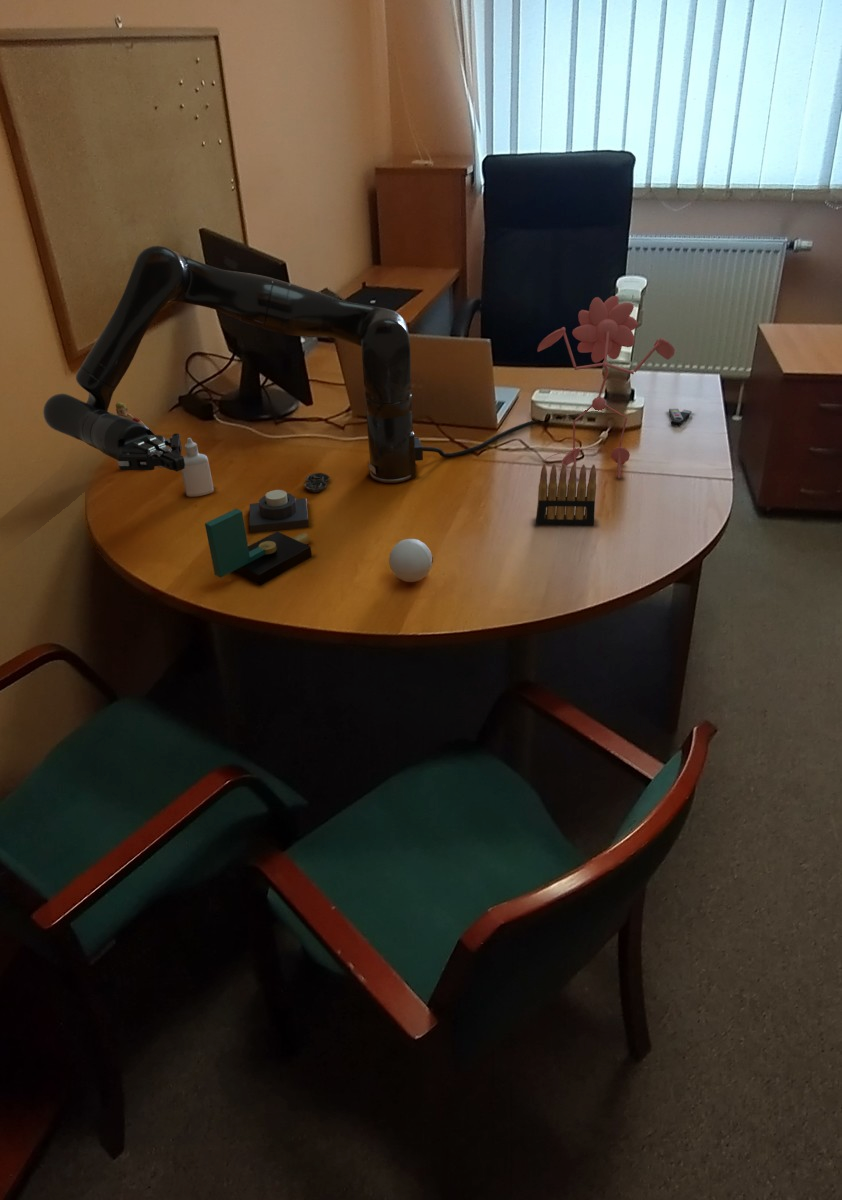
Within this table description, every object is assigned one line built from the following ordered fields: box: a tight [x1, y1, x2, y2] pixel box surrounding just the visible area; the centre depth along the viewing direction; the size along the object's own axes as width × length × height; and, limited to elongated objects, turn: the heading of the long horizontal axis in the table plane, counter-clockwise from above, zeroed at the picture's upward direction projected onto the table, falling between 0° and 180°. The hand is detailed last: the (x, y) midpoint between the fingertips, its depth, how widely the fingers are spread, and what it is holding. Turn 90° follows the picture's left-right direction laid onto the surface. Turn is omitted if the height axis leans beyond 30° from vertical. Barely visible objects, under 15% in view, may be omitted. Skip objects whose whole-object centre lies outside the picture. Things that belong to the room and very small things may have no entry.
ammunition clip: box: [535, 463, 597, 527], centre depth 155 cm, size 11×2×12 cm, turn 86°
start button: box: [265, 489, 288, 507], centre depth 160 cm, size 4×4×2 cm
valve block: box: [232, 530, 313, 586], centre depth 150 cm, size 15×9×2 cm, turn 139°
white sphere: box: [388, 538, 434, 583], centre depth 143 cm, size 10×7×7 cm
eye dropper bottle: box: [180, 437, 215, 498], centre depth 170 cm, size 4×6×12 cm
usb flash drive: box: [668, 408, 692, 427], centre depth 198 cm, size 9×5×1 cm, turn 147°
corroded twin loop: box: [303, 472, 330, 493], centre depth 174 cm, size 5×8×1 cm, turn 0°
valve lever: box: [204, 508, 276, 579], centre depth 142 cm, size 12×3×10 cm, turn 139°
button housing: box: [248, 492, 310, 534], centre depth 162 cm, size 11×9×4 cm
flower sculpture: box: [536, 295, 676, 479], centre depth 169 cm, size 15×26×35 cm, turn 90°
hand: (180, 464), depth 140 cm, fingers closed
